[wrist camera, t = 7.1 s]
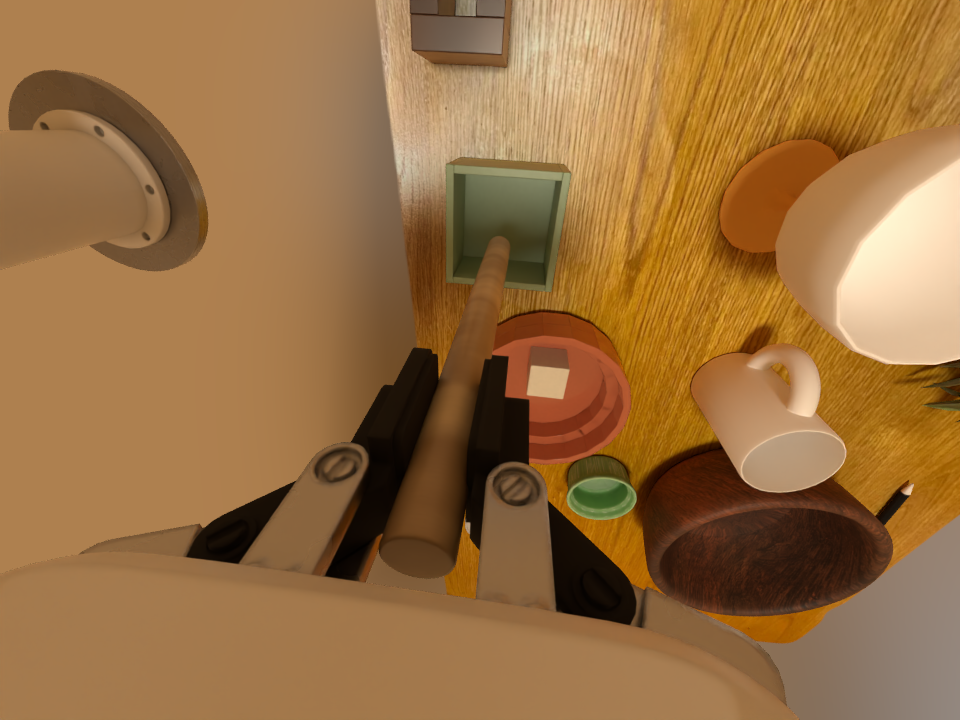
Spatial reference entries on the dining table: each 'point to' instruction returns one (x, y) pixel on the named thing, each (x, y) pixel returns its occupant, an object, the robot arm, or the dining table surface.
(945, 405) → the fruit
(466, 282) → the tub
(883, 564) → the wooden bowl
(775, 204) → the cup
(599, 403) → the bowl
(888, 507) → the black pencil
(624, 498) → the ramekin
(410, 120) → the dining table surface
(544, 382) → the block
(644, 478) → the dining table surface
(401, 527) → the stick
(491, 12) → the holder
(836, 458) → the mug
